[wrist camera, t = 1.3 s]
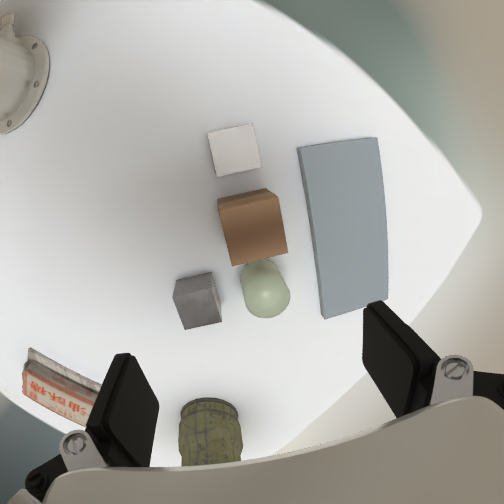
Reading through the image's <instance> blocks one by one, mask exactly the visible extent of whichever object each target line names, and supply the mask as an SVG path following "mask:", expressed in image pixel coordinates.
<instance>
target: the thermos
mask: <svg viewBox="0 0 504 504" xmlns="http://www.w3.org/2000/svg"><path fill="white" fill-rule="evenodd" d="M178 441H179V452H180V454H181V456H182V467H184V466H200V465H211V464H221V463H229V462H237V461H241V457H240V455H241V452H242V448H243V442H242V435H241V428H240V424H239V422H238V413H237V411H236V408H235V407H234V406H232V405H231V404H230V403H228V402H226V401H224V400H220V399H216V398H201V399H196V400H193V401H191V402H188V403H187V404H186V405H185V406H184V407H183V409H182V411H181V422H180V424H179V439H178Z"/></svg>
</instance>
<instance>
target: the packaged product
mask: <svg viewBox="0 0 504 504" xmlns="http://www.w3.org/2000/svg"><path fill="white" fill-rule="evenodd" d="M22 376H23V377H22V379H23V386H22V388H23V390H22V392H23V394H24V395H26V396H27V397H29V398H30V399H32V400H33V401H35V402H37V403H39V404H41V405H42V406H44V407H46V408H48V409H49V410H51V411H53V412H55V413H57V414H59V415H61V416H63V417H65V418H67V419H69V420H71V421H73V422H75V423H77V424H79V425H82V426H84V427H87V426H86V423H87V420H88V418H89V415H90V413H91V410H92V408H93V405H94V403H95V400H96V398H97V396H98V393H99V391H100V388H101V386H102V385H100V384H98V383H96V382H94V381H92V380H90V379H88V378H86V377H84V376H82V375H80V374H78V373H76V372H74V371H72V370H70V369H68V368H66V367H64V366H62V365H60V364H58V363H56V362H54V361H52V360H50V359H48V358H47V357H45V356H43V355H42V354H40V353H39V352H37V351H35V350H33V349H32V348H29V349H28V361H27V362H26V363H25V364H24V370H23V372H22Z"/></svg>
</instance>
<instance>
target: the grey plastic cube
mask: <svg viewBox="0 0 504 504" xmlns="http://www.w3.org/2000/svg"><path fill="white" fill-rule="evenodd" d="M207 135H208V139H209V144H210V148H211V152H212V157H213V161H214V166H215V170H216V174H217V177H221V176H225V175H229V174H234V173H238V172H243V171H247V170H252V169H257V168H262V164H261V159H260V154H259V150H258V145H257V140H256V135H255V131H254V126H253V123H252V124H247V125H242V126H237V127H232V128H228V129H223V130H218V131H214V132H210V133H207Z"/></svg>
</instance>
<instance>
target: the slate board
mask: <svg viewBox="0 0 504 504" xmlns="http://www.w3.org/2000/svg"><path fill="white" fill-rule="evenodd" d="M297 151H298V156H299V162H300V167H301V173H302V178H303V184H304V190H305V196H306V202H307V208H308V214H309V221H310V227H311V234H312V241H313V248H314V255H315V263H316V271H317V279H318V287H319V296H320V305H321V315H322V316H323V318H324V319H328V318H331V317H335V316H338V315H341V314H344V313H348V312H351V311H354V310H357V309H360V308H363V307H366V306H367V304H368V303H372V302H375V301H378V300H382V301H384V300H387V299H388V239H387V220H386V206H385V195H384V185H383V176H382V167H381V160H380V152H379V146H378V139H377V138H365V139H357V140H348V141H340V142H333V143H326V144H319V145H312V146H306V147H300V148H297Z"/></svg>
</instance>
